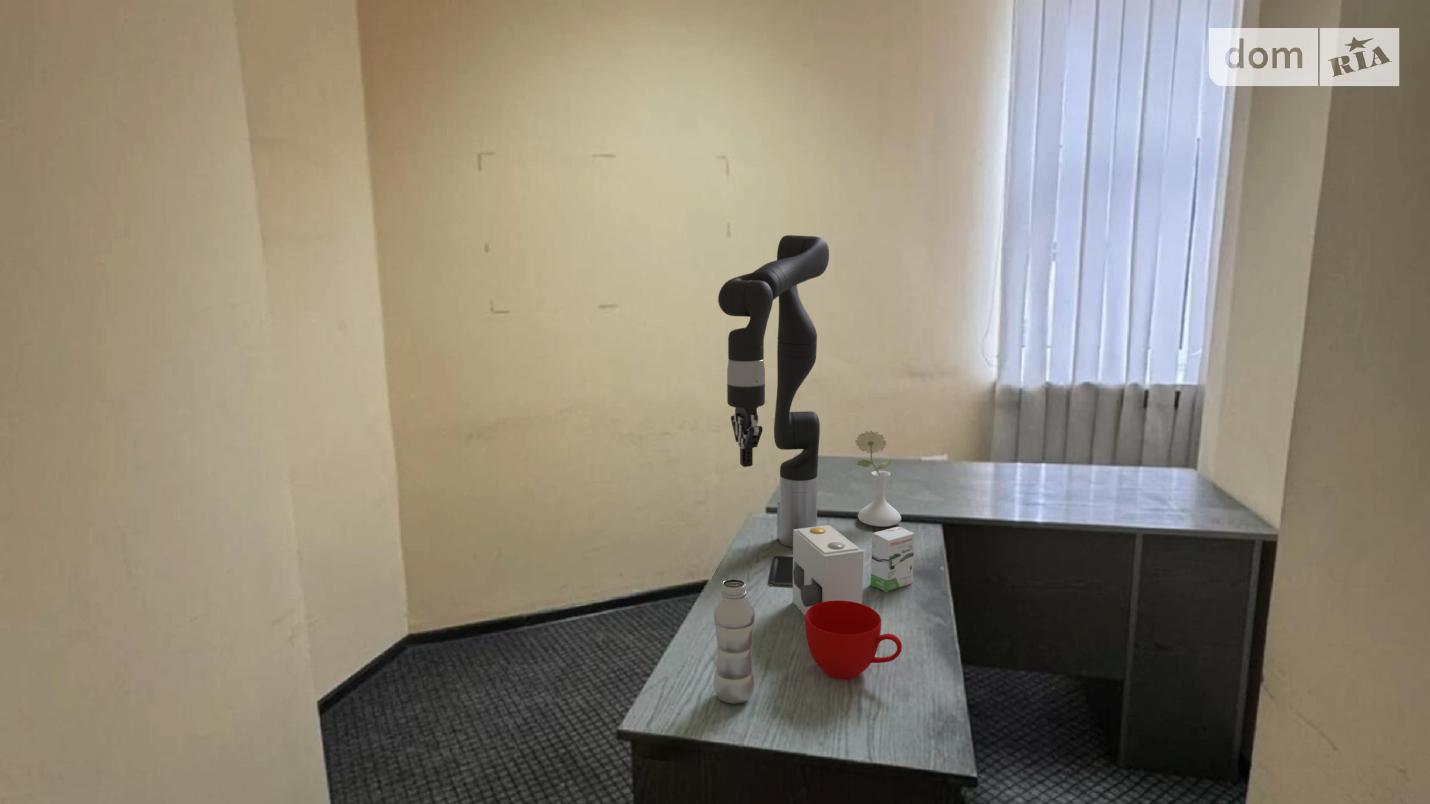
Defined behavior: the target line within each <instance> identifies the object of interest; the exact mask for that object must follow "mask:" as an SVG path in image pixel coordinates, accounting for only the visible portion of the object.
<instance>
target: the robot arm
mask: <svg viewBox="0 0 1430 804" xmlns="http://www.w3.org/2000/svg"><path fill="white" fill-rule="evenodd" d="M829 260H830V249H829V245H828V242H827V241H826V239H824V238H822V237H820V236H814V235H798V234H797V235H792V234H791V235H790V234H787V235H784V236H782V237H781V239H780V241H779V243H778V246H777V252H776V260H773V261H770V262H767V263H765V264H763V265H762V266H760V267H758V268H757V269H755V270H754V271H753V272H749V273H745V274H742V275H739V276H735V277H733V278H731V279H729V280H726V282H725V283H723V285H722V287H721V288H720V290H719V292H718V297H717V299H718V301H717V302H718V306H719V307H720V310H721V311H722V312H723V313H724V314H725V315H728V316H730V317H744V318H745V317H746V318H747V317H749V321H748V323H747V325H746V326H745V327H742V328H735V329H732V330H731V331H730V332H729V333H728V339H727V340H728V341H727V342H728V343H727V347H728V348H727V355H728V356H727V357H728V358H727V359H728V360H727V361H728V362H727V368H726V370H727V371H726V380H727V381H726V387H727V388H726V396H727V397H726V399H727V405H728V407H729V406H730V407H733V408H735V409H734V412H735V413H734V414H733V415H731V416H730V421H731V425H732V430H733V434H734V439H735V442H736V443H737V445H738V448H739V464H740V465H741V466H742V467H743V468H748V467H752V466H753V464H754V463H753V455H754V454H753V451H754V450H753V449H755V448H757V447H758V445H759V442H760V439H761V437H762V433H763V426H762V425H759V415H758V411H757V409H758V408H759V407H763V406H764V405H765V404H766V369H765V359H764V355H765V349H764V348H765V347H764V346H765V345H764V341H765V335H766V330H767V326H768V322H769V319H770V314H771V311H772V308H773V303H774V302H773V301H774V300H776V299H777V298H778V327H777V346H776V347H777V348H776V349H777V350H776V351H777V352H776V357H777V358H776V362H777V363H776V364H777V366H776V367H777V368H776V369H777V370H776V371H777V386H776V387H777V389H776V400H775V410H774V411H775V412H774V423H773V437H774V439H773V440H774V445H775V446H776V447H777V449H779V450H782V451H783V450H785V451H786V450H787V451H789V450H793V451H794V450H802V451H801V452H800V453H798V454H797V455H796V456H795V457H792V458H790V459H788V460H785V461H783V462H782V463H781V464H780V466H779V502H778V503H777V505H776V506H777V507H776V508H777V509H776V510H777V514H776V516H777V517H776V518H777V519H776V522H777V523H776V525H777V526H776V527H777V529H776V539H777V540H778V541H779V543H780V544H781V545H783V546H785V547H790V548H793V529H800V528H808V527H817V526H818V524H817V523H818V467H819V450H820V449H819V448H820V447H819V446H820V436H821V433H820V432H821V431H820V430H821V427H820V425H821V423H820V419H819V415H818V414H817V412H815V411H811V410H810V411H809V410H808V411H791V407H792V404H793V401H794V399H795V396H796V393H797V392H798V389H799V388H800V387H801V386H802V385H803V382H804V381H805V380H806V379H807V376H808V375H809V374H810V372H812V371H811V370H812V369H813V368H814V366H815V363H816V361H817V345H818V344H817V343H818V342H817V341H818V334H817V330H816V327H815V325H814V322H813V320H812V319H811V317H810V315H809V314H808V312H807V310H806V308H805V307H804V304H803V303H802V301H801V298H800V295H799V292H798V290H799V289H798V285H799V284H802V283H805V282H806V281H808V280H811V279H815V278H818V277H820V276H822V275H823V274H824V273H825V272H826V269H827V268H828V266H829Z"/></svg>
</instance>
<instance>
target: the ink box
mask: <svg viewBox="0 0 1430 804" xmlns="http://www.w3.org/2000/svg"><path fill="white" fill-rule="evenodd" d="M915 536H916V535H915V532H913V531H911V530H907V529H906V528H904V527H900V526H895V527H891V528H887V529H884V530H880V531H876V532H875V531H874V532H873V533H872V537H871V538H872V539H871V559H870V560H871V561H870V562H871V563H870V565H871V566H870V586H873V587H875V588H877V589H879V590H881V591H883V592H885V593H886V592H890V591H893V590H895V589H899V588H902V587H905V586H908V585H911V584H913V581H914V579H913V578H914V577H913V576H914V558H915V557H914V556H915V554H914V553H915Z"/></svg>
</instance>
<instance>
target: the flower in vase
mask: <svg viewBox="0 0 1430 804" xmlns="http://www.w3.org/2000/svg"><path fill="white" fill-rule="evenodd" d="M855 444H856V446H857V447H858V449H859V450H860V451H862V452H866V453H867V454H870V460H868V459H861V460H859V461H858V462H857V463H856V465H857V466H861V467H864V468H869V467H871V465H873V467H874V469H875V470H874V471H871V473H870V474H871V475H872V477H873V479H874V483H875V497H874V500H872V501H871V502H870V503H869V504H868V505H866V506H864V507H863V508H861V510H860V511H858V513H857V518H858V520H859V521H860V522H861V523H863V524H866V525H868V526H872V527H878V528H879V527H881V528H883V527H885V528H886V527H891V526H895V525H897V524H899V523H900V522H901V521H902V516H901V514H900V512H898V510H897V509H895V507H893V506H892V505H891V504H890V503H888V502H887V500H886V497H885V489H886V484H887V481H888V479H889V478H890V475H891V472H889V471H885V470H880V469H884V468H887V467H888V466H889V465H890V464H891V462H892V460H889V461H884V462H882V463H880V464H878V466H877V467H876V465H875V463H874V462H873V454H875V453H879V452H883V451H884V449H886V446H887V445H888V443H887V441H886V437H885V436H884V434H881V433H879V431H873V430H870V431H867V430H865V432H861V433H860V434H859V435H858V437H856V439H855Z"/></svg>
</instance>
